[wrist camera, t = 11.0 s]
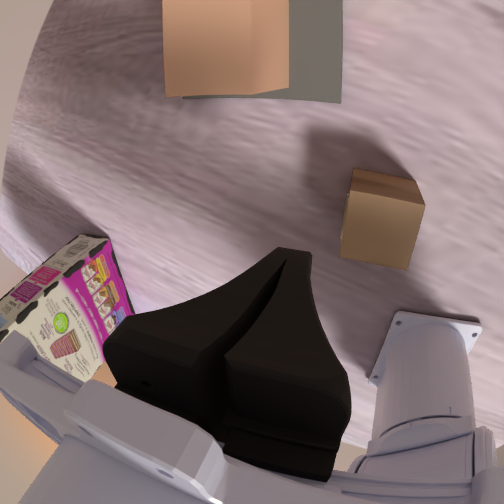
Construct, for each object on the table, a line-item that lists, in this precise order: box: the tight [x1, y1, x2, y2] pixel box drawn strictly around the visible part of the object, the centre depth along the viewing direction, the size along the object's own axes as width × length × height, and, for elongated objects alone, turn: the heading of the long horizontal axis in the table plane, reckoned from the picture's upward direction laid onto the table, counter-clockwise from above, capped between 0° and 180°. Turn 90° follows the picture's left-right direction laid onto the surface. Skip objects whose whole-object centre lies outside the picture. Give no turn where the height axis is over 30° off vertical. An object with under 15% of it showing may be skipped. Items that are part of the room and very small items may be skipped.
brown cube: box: [339, 168, 425, 270], centre depth 17 cm, size 4×4×4 cm
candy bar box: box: [0, 234, 135, 382], centre depth 26 cm, size 11×5×16 cm, turn 4°
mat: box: [183, 0, 343, 104], centre depth 15 cm, size 12×10×1 cm
